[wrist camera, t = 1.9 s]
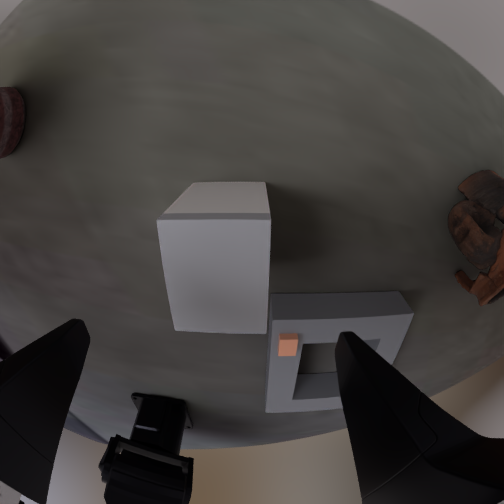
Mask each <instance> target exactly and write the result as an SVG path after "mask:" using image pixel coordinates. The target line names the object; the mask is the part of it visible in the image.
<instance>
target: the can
mask: <svg viewBox="0 0 504 504" xmlns="http://www.w3.org/2000/svg"><path fill="white" fill-rule="evenodd" d="M25 116H26V111H25V103H24V100H23V98H22V96H21V95H20V94H19V92H18V91H17V90H16V89H15V88H11V87H0V159H1V158H4V157H6V156H7V155H9V154H10V153H11V152H12V151H13V149H14V148H15V147H16V145H17V144H18V143H19V140H20V138H21V136H22V134H23V129H24V125H25Z"/></svg>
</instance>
